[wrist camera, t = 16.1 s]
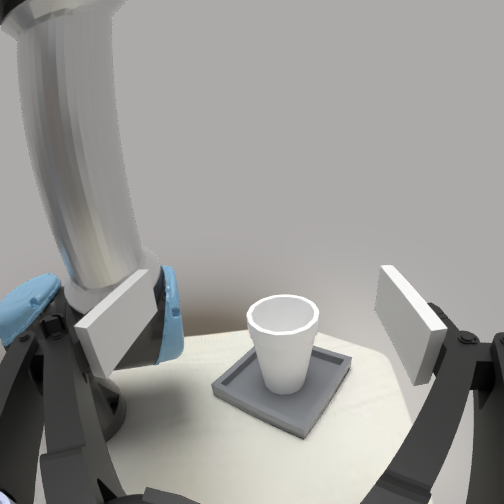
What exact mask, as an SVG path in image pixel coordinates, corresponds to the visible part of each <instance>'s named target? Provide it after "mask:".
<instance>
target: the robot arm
mask: <svg viewBox="0 0 504 504" xmlns="http://www.w3.org/2000/svg"><path fill="white" fill-rule="evenodd" d="M127 1H128V0H0V25H2V26H1V27H2V28H1V29H2V31H3V32H4V33H6V34H7V35H9V36H11V37H12V38H14V39H16V41H17V64H18V82H19V93H20V102H21V110H22V117H23V123H24V130H25V135H26V140H27V146H28V150H29V155H30V160H31V164H32V168H33V172H34V176H35V179H36V184H37V187H38V191H39V194H40V197H41V201H42V204H43V207H44V210H45V213H46V216H47V219H48V222H49V225H50V228H51V231H52V234H53V236H54V239H55V241H56V244H57V247H58V249H59V252H60V254H61V256H62V259H63V261H64V264H65V266H66V269H67V271H68V273H69V274H68V276H67V278H66V281H65V285H64V287H63V286H61V281H60V280H59V279H58V277H57V276H56V275H55V274H50V273H48V274H43V275H40V276H37V277H35V278H33V279H31V280H29V281H27V282H25V283H23V284H22V285H20V286H18V287H17V288H15V289H14V290H13V291H12V292H10V293H9V294H8V295H7V296H6V297H5V298H4V299H3V300H2V301H1V302H0V339H1V343H2V345H3V346H4V348H5V350H6V354H5V356H4V358H3V360H2V362H1V364H0V504H33V503H34V494H35V481H36V472H37V463H38V456H39V449H40V443H41V437H42V432H43V426H44V423H45V436H46V445H47V454H41V456H40V469H41V476H42V482H43V488H44V493H45V498H46V503H47V504H200V503H198V502H195V501H193V500H190V499H188V498H186V497H183V496H181V495H177V494H173V493H168V492H164V491H160V490H156V489H152V488H149V487H146V490H145V492H144V494H136V495H126V494H125V492H124V490H123V489H122V487H121V485H120V482H119V480H118V477H117V475H116V472H115V469H114V467H113V464H112V461H111V458H110V455H109V453H108V450H107V447H106V443H105V442H106V441H107V440H109V439H110V438H111V437H112V436H113V435H114V434H115V433H116V432H117V431H118V430H119V428H120V427H121V425H122V423H123V421H124V418H125V414H126V404H125V400H124V398H123V396H122V394H121V392H120V390H119V389H118V387H117V386H116V385H115V383H114V382H113V381H111V380H110V379H109V378H108V377H109V375H110V374H111V372H112V371H114V370H121V369H129V368H136V367H142V366H149V365H158V364H159V363H160V362H164V361H169V360H173V359H176V358H178V357H179V356H180V355H181V354H182V352H183V349H184V335H183V325H182V317H181V313H180V300H179V294H178V286H177V281H176V276H175V272H174V269H173V268H172V267H170V266H164V265H162V266H160V262H159V260H158V258H157V256H156V254H155V253H154V252H153V251H151V250H150V249H148V248H146V247H144V246H142V245H141V243H140V238H139V234H138V230H137V226H136V221H135V217H134V212H133V208H132V203H131V198H130V193H129V188H128V183H127V178H126V172H125V166H124V160H123V154H122V147H121V141H120V134H119V126H118V118H117V110H116V99H115V88H114V75H113V58H112V57H113V56H112V17H113V15H114V13H115V12H116V11H117V10H118V9H119V8H120V7H121V6H123V5H124V4H125V3H126V2H127ZM375 311H376V313H377V315H378V317H379V319H380V320H381V322H382V324H383V326H384V328H385V330H386V332H387V334H388V336H389V337H390V340H391V341H392V343H393V345H394V347H395V349H396V351H397V353H398V355H399V357H400V359H401V361H402V363H403V366H404V367H405V370H406V372H407V374H408V376H409V378H410V380H411V382H412V384H413V386H417V385H422V384H427V383H429V381H430V379H431V376H432V373H434V375H435V376H436V379H435V381H434V384H433V386H432V388H431V390H430V392H429V395H428V397H427V399H426V401H425V403H424V405H423V407H422V409H421V411H420V413H419V415H418V417H417V419H416V421H415V422H414V424H413V426H412V428H411V430H410V431H409V433H408V435H407V437H406V438H405V440H404V442H403V444H402V445H401V447H400V449H399V450H398V452H397V453H396V455H395V457H394V458H393V460H392V461H391V463H390V464H389V466H388V467H387V469H386V470H385V472H384V473H383V474H382V475H381V477H380V478H379V479H378V481H377V482H376V484H375V485H374V486H373V488H372V489H371V490H370V492H369V493H368V494H367V495H366V497H365V498H364V499H363V501H362V502H361V503H360V504H428V502H429V500H430V498H431V493H430V490H431V488H432V486H433V484H434V482H435V480H436V478H437V476H438V474H439V472H440V470H441V467H442V465H443V463H444V461H445V459H446V456H447V454H448V451H449V449H450V447H451V444H452V442H453V439H454V436H455V434H456V431H457V429H458V426H459V423H460V420H461V417H462V414H463V411H464V407H465V404H466V401H467V397H468V394H469V390H473V397H474V438H473V455H472V465H471V474H470V482H469V489H468V495H467V500H466V504H504V332H501V333H497V334H496V335H495V336H494V339H493V342H492V343H480V341H479V339H478V337H477V336H476V335H474V334H473V333H470V332H468V331H459V330H458V328H457V327H456V326H455V325H454V324H453V322H452V321H451V320H450V319H448V317H447V316H446V315H445V314H444V312H443V311H442V310H441V309H440V308H439V307H438V306H436V305H434V304H433V303H426V302H425V301H424V300H423V298H422V297H421V296H420V295H419V294H418V293H417V292H416V290H415V289H414V288H413V287H412V286H411V285H410V284H409V283H408V282H407V280H406V279H404V277H403V276H402V275H401V274H400V273H399V272H398V271H397V270H396V269H395V268H394V266H393V265H386V266H385V265H383V266H380V270H379V280H378V288H377V296H376V303H375Z"/></svg>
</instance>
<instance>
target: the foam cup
mask: <svg viewBox="0 0 504 504" xmlns="http://www.w3.org/2000/svg"><path fill="white" fill-rule="evenodd" d="M247 323H248V330H249V334H250V338H251V339H253V343H254V346H255V350H256V354H257V357H258V361H259V364H260V368H261V371H262V375H263V378H264V382H265V385H266V387H267V388H268V389H269V390H270V391H271V392H273V393H276V394H280V395H285V394H292V393H294V392H296V391H298V390H299V389H300V388H301V387H302V386H303V385H304V381H305V377H306V373H307V369H308V365H309V361H310V356H311V352H312V348H313V343H314V339H315V336H316V335H317V331H318V323H319V310H318V309H317V307H316V305H315V304H314V303H313V302H311V301H310V300H308V299H306V298H304V297H300V296H294V295H274V296H270V297H267V298H264V299H261V300H259V301H258V302H256V303H255V304H253V305H252V306H251V307H250V309H249V311H248V313H247Z"/></svg>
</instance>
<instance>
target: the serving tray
mask: <svg viewBox="0 0 504 504" xmlns="http://www.w3.org/2000/svg"><path fill="white" fill-rule="evenodd" d="M351 361H352V357H349V356H345V355H342V354H339V353H335V352H332V351H329V350H326V349H322V348H319V347H316V346H313V348H312V352H311V356H310V361H309V365H308V369H307V373H306V377H305V381H304V385H303V386H302V387H301V388H300V389H299V390H298V391H296V392H294V393H292V394H285V395H280V394H276V393H273V392H271V391H270V390H269V389H268V388H267V387H266V385H265V382H264V378H263V375H262V371H261V368H260V364H259V361H258V357H257V354H256V350H255V346H254V347H253V348H252V349H251V350H250V351H248V352H247V353H246V354H245V355H244V356H243V357H242V358H241V359H240V360H238V361H237V362H236V363H235V364H234V365H233V366H232V367H231V368H229V369H228V370H227V371H226V372H225V373H224V374H223V375H222V376H220V377H219V378H218V379H217V380H216V381H215V382H213V383H212V384H211V385H212V389H213V393H214V395H216V396H217V397H219V398H221V399H223V400H224V401H226V402H228V403H230V404H232V405H233V406H235V407H237V408H239V409H241V410H243V411H245V412H247V413H248V414H250V415H252V416H254V417H256V418H258V419H260V420H262V421H264V422H266V423H268V424H271V425H273V426H275V427H277V428H279V429H281V430H283V431H286V432H288V433H290V434H292V435H295V436H297V437H299V438H302V439H305V437H306V436H307V435H308V433H309V432H310V430H311V429H312V427H313V426H314V425H315V423H316V422H317V420H318V419H319V417H320V416H321V414H322V413H323V411H324V410H325V408H326V407H327V405H328V404H329V402H330V401H331V399H332V397H333V396H334V394H335V393H336V391H337V389H338V388H339V386H340V384H341V383H342V381H343V379H344V378H345V376H346V374H347V373H348V371H349V369H350V366H351Z"/></svg>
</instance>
